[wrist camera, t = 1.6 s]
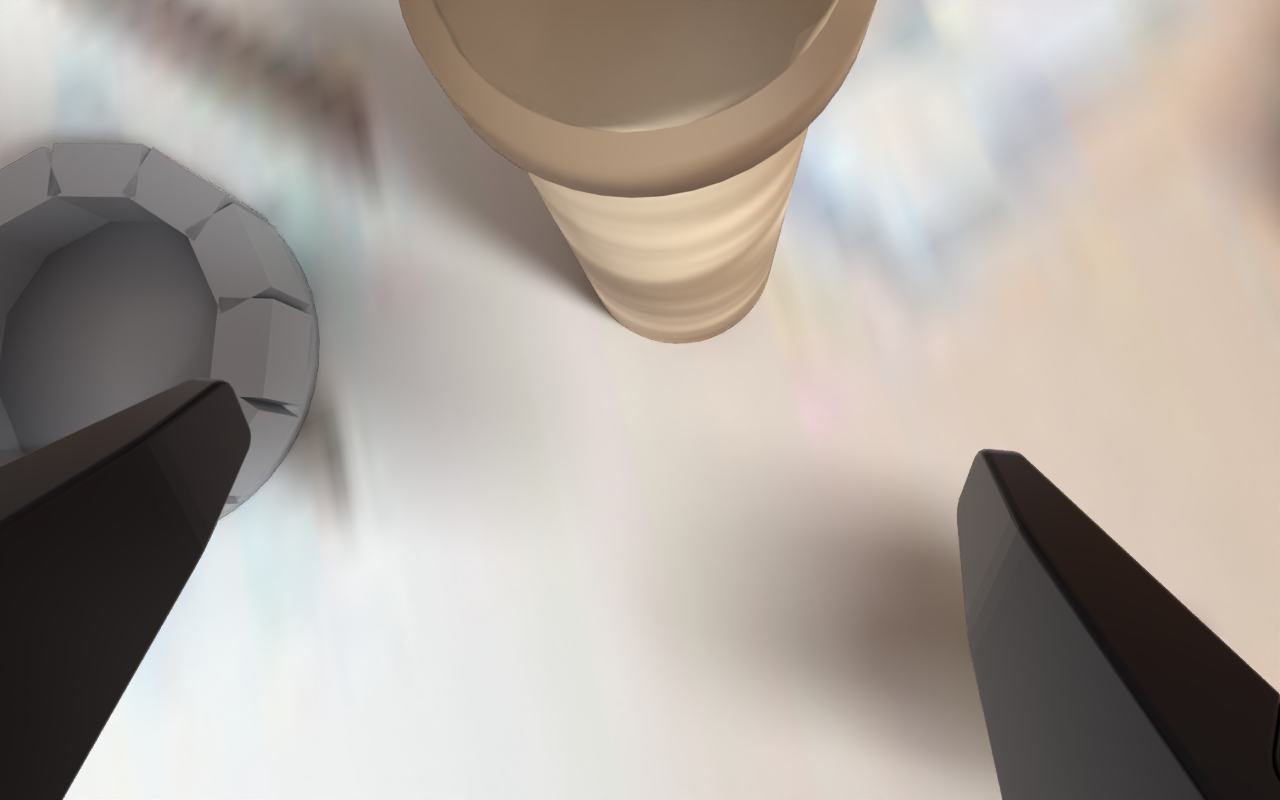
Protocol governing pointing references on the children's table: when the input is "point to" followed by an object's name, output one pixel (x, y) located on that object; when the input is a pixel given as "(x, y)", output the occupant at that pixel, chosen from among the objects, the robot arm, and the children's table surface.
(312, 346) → the ring socket
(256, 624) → the children's table surface
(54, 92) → the children's table surface
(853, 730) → the children's table surface
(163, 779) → the children's table surface
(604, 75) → the beech plug
